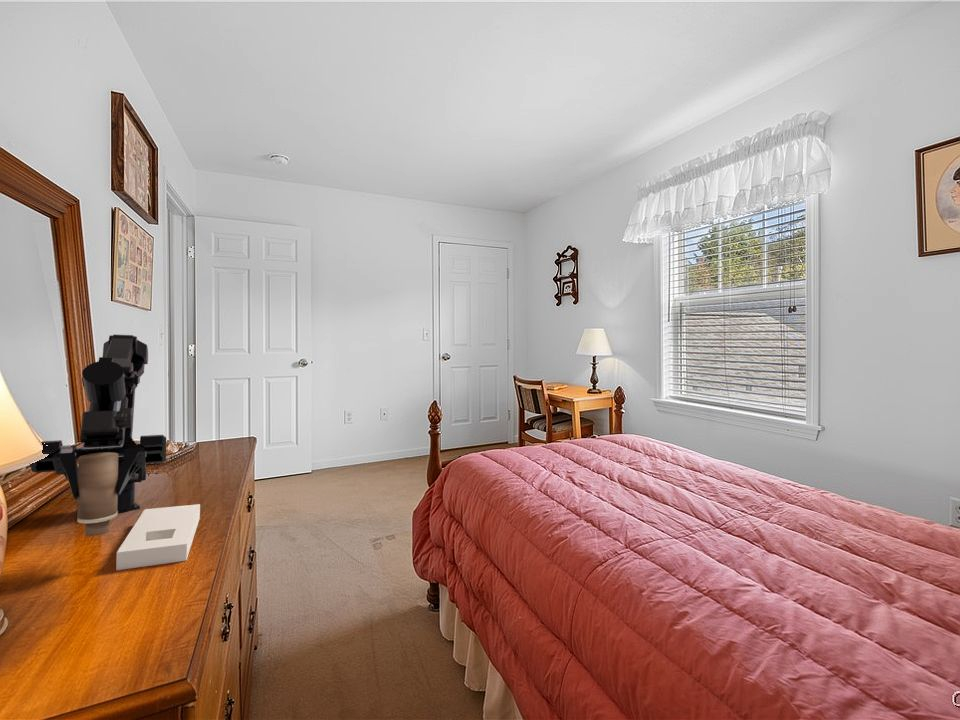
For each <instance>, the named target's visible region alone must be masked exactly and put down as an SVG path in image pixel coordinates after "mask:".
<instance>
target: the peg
mask: <svg viewBox="0 0 960 720" xmlns="http://www.w3.org/2000/svg"><path fill="white" fill-rule="evenodd" d="M117 482H118V453H112V452H104V453H93V454H87V455H83V456H80V457H79V459H78V498H77V517H76V518H77V519H76V520H77V521H76V522H77V523H79V524H84V526H85V528H84V529H85V530H84V531H85V533H84V535H85V536H87V537H95V536H97V537H98V536H101V535H104V534H107V533H109V532H110V530H111V527H110V524H111V520H112V519H115V518H117V517H118V515H119V513H118V511H117V503H118V495H117V493H116V492H117Z"/></svg>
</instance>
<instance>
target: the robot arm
mask: <svg viewBox="0 0 960 720" xmlns="http://www.w3.org/2000/svg"><path fill="white" fill-rule="evenodd" d="M108 336H109V337H108V340H106V341H105V342H104V343H103V347H102V356H99V358H98V360H97V361H95V362H91V363H90V364H88V365H87V366H86V367H85V368H84V369H82V370H81V371H82V372H81V375H82V377H81V383H82V387H83V388H84V392H85V396H86V399H87V401H88V402H89V405H88V411H83V412H82V414H81V426H80V438H79V440H80V443H81V444H82V446H75V445H67V444H66V445H64V444H63V440H61V439H59V440H58V439H57V440H44V441H43V440H41V441H42V442H41V443H42V445H43V450H42V453H43V454H49V455H48V456H47V457H45V458H44V459H41V460H39V461H37V462H35V463H32V464H30V463H29V466H30V469H31V472H32V473H37V474H39V473H40V474H41V473H52V472H53V473H54V472H55V474H56V475H59V476H61V475H62V476H64V477H65V479H66V481H67V482H68V484H69V487H70V491H71V493H72V498H73V500H74V501H76V500H77V501H78V467H79V464H78V461H79V457H80V456H83V455H87V454H93V453H104V452H112V453H118V482H117V492H116V493H117V495H118V503H117V511H118V514H120V513H124V512H126V513H127V512H130V511H134V510H139V509H141V505H140V504H138V503H137V502H136V483H142V482H143V481H146V479H147V467H146V466H147V465H148V464H149V465H150V464H160V463H161V464H162V463H165V462H166V461H167V437H166V436H165V435H164V434H153V435H152V434H151V435H140V437H139V443H136V442H135V441H134V438H133V427H134V411H135V397H136V389H137V387H138V385H139V384H140V383H141V377H142V376H143V374H145V366H146V365H148V364H149V349H148V344H146V343H144V342H142V340H141V341H140V340H139V339H138V336H136V335H135V336H134V335H133V334H113V335H108ZM44 443H45V444H44ZM46 445H48V446H46Z"/></svg>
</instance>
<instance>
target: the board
mask: <svg viewBox="0 0 960 720" xmlns="http://www.w3.org/2000/svg"><path fill="white" fill-rule="evenodd" d="M200 519H201V504H200V503H198V504H197V503H196V504H189V505H179V506H178V505H177V506H176V505H175V506H165V507H155V508H146V509H144V510H143V511H142V513H141V515H140V516H139V517H138V519H137V521H136V522H135V524H134V525H133V527H132V528H131V530H130V531H129V533H128V534H127V536H126V538H125V539H124V541H123V542H122V544H121V545H120V546H119V548H118V549H117V551H116V561H115V562H116V564H115V566H116V567H115V568H116V571H120V570H121V571H122V570H127V569H128V570H129V569H135V568H143V567H148V566H149V567H150V566H151V567H152V566H157V565H164V564H170V563H171V564H173V563H179V562H185V561H187V560H188V556H189V553H190V550H191V548H192V547H191V546H192V545H193V540H194V537H195V534H196V532H197V528H198V525H199V521H200Z"/></svg>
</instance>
